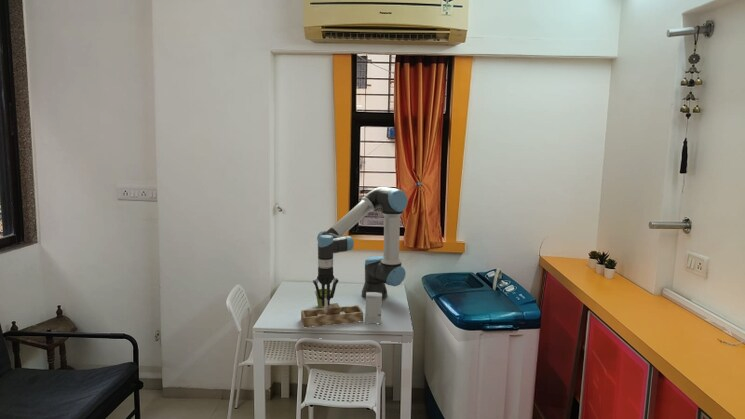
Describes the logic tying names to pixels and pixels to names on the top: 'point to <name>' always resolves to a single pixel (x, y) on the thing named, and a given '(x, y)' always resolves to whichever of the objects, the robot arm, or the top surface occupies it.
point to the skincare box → (373, 307)
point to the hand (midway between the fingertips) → (325, 311)
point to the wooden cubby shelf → (331, 316)
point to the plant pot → (321, 299)
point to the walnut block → (333, 309)
